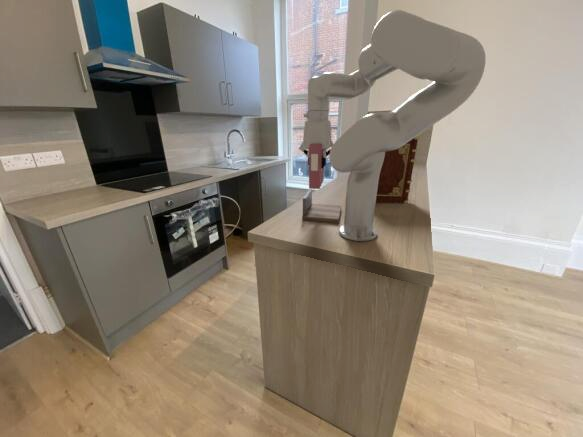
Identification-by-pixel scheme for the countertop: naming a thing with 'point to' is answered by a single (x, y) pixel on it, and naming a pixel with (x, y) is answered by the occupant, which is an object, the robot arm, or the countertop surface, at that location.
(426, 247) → the countertop surface
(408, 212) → the countertop surface
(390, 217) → the countertop surface
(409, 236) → the countertop surface
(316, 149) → the slim book
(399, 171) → the decorative book
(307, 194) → the bookend
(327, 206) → the shelf board
